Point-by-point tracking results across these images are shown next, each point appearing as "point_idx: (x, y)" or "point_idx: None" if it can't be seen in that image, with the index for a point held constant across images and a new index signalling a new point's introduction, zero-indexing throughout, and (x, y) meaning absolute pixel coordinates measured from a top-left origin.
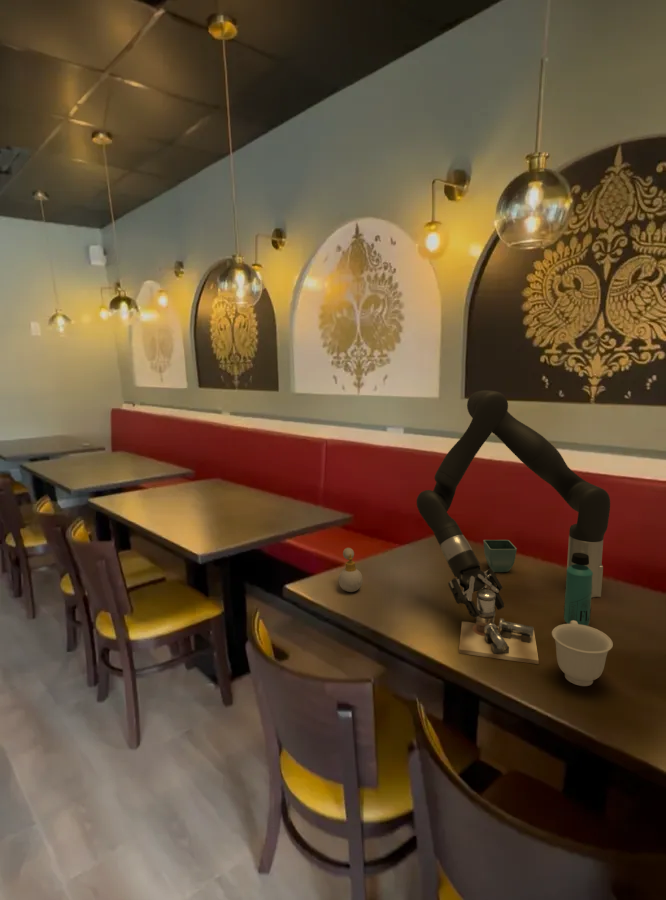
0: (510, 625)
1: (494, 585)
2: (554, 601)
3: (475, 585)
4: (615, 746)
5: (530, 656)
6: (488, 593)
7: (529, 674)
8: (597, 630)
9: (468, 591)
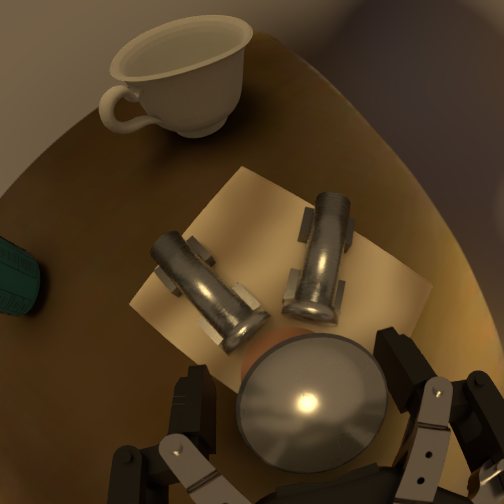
0: (225, 291)
1: (145, 500)
2: (4, 403)
3: (364, 496)
4: (279, 41)
5: (250, 185)
6: (302, 400)
7: (294, 150)
8: (114, 61)
9: (447, 428)
